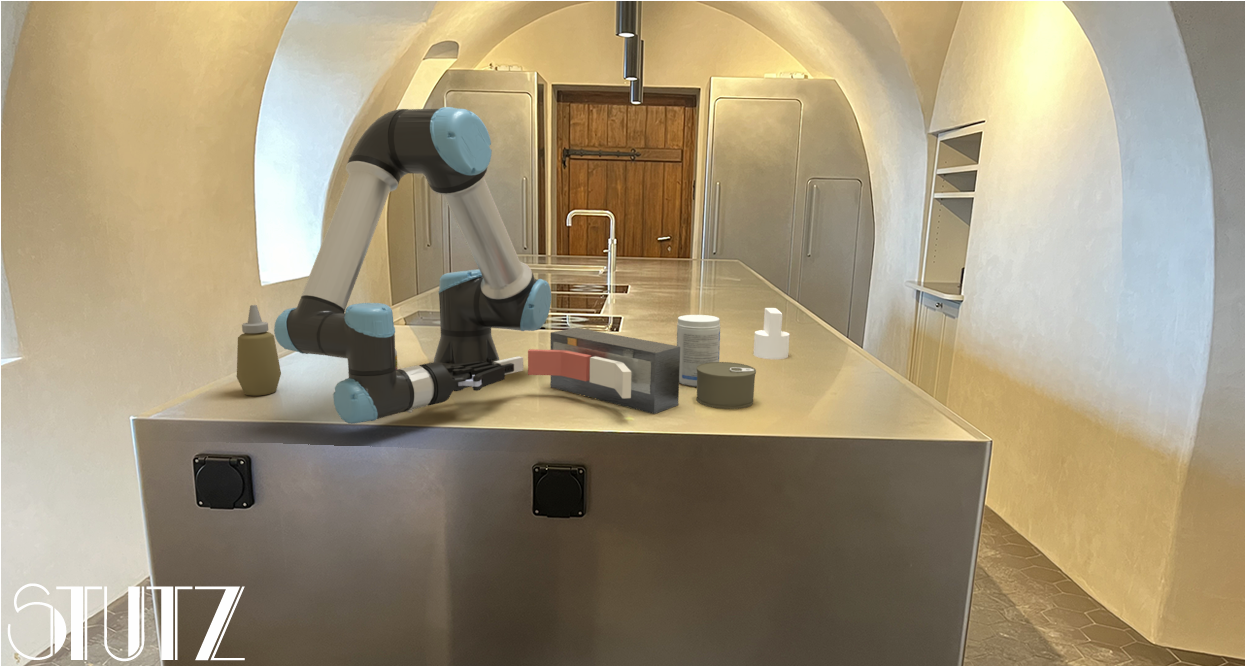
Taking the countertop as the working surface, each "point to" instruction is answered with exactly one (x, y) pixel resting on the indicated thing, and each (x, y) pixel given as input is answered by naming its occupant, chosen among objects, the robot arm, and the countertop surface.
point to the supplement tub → (697, 344)
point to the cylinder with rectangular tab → (771, 337)
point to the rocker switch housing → (643, 358)
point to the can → (725, 385)
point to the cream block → (611, 375)
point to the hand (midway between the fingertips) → (520, 363)
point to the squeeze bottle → (257, 357)
